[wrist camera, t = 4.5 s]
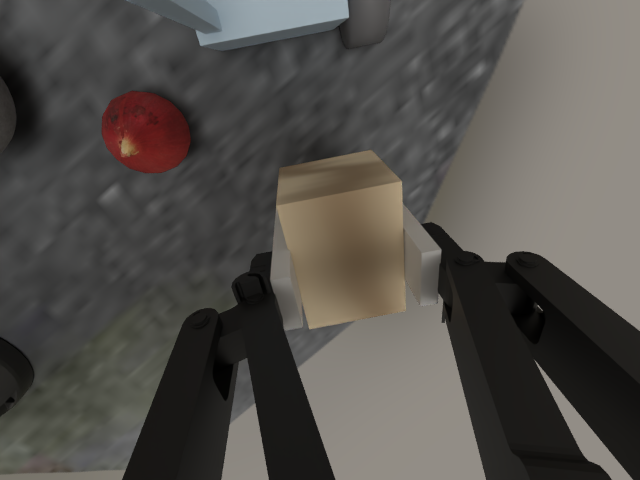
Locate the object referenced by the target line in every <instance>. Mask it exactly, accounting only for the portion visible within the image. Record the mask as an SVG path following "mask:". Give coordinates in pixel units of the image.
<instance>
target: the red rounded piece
mask: <svg viewBox="0 0 640 480" xmlns="http://www.w3.org/2000/svg"><path fill="white" fill-rule="evenodd" d="M102 136H103V139H104V141H105V144H106V147H107V148H108V150H109V151H110V152H111V153H112V154H113V156H114V157H115V158H116V159H117V160H118V161H120V162H121V163H123V164H124V165H125V166H127V167H128V168H130V169H133V170H136V171H140V172H143V173H162V172H165V171H167V170H169V169H172V168H174V167H176V166H178V165H179V164H180V163H181V161H182V160H183V159H184V158H185V157H186V156H187V152H188V149H189V146H190V142H191V138H190V131H189V126H188V124H187V122H186V120H185V118H184V116H183V114H182V113H181V112H180V111H179V110H178V109H177V108H176V107H175V106H174V105H173V104H172V103H171V102H170V101H168V100H166V99H164V98H162V97H160V96H158V95H157V94H154V93H148V92H138V91H130V92H128V93H126V94H123V95H121V96H119V97H117V98H115V99H113V100H111V102H110V103H109V105H108V107H107V109H106V110H105V112H104V114H103V116H102Z"/></svg>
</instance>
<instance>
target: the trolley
mask: <svg viewBox="0 0 640 480" xmlns="http://www.w3.org/2000/svg"><path fill="white" fill-rule="evenodd" d="M125 1H128V2H130V3H133V4H135V5H137V6H140V7H142V8H144V9H147V10H149V11H152V12H154V13H156V14H159V15H161V16H164V17H166V18H168V19H171V20H173V21H175V22H178V23H180V24H183V25H185V26H187V27H190V28H192V29H195V30H196V33H197V37H198V40H199V43H200V46H203V47H207V48H211V49H215V50H219V51H226V50H231V49H236V48H241V47H246V46H252V45H257V44H262V43H267V42H273V41H278V40H283V39H288V38H293V37H299V36H304V35H309V34H314V33H320V32H325V31H330V30H333V29H335V28H336V27H337V26H339V27H340V32H341V36H342V40H343V43H344V45H345V47H346V48H347V49H350V48H355V47H360V46H366V45H371V44H376V43H380V42H382V41H383V39H384V37H385V35H386V31H387V27H388V22H389V14H390V1H391V0H125Z"/></svg>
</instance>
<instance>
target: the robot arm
mask: <svg viewBox="0 0 640 480" xmlns="http://www.w3.org/2000/svg"><path fill="white" fill-rule="evenodd" d="M403 235H404V268H405V280H406V282H407V283H408V285H409V287H410V289H411V291H412V292H413V294H414V296H415V298H416V300H417V302H418V303H419V305H420V306H425V305H431V304H437V303H438V293H439V294H440V296H441V297H442V298H443V312H442V323H445V320H446V324H447V328H448V331H449V335H450V339H451V343H452V347H453V351H454V355H455V359H456V363H457V367H458V371H459V375H460V379H461V383H462V387H463V390H464V394H465V398H466V402H467V406H468V410H469V414H470V418H471V422H472V426H473V430H474V434H475V438H476V441H477V445H478V449H479V453H480V457H481V461H482V465H483V469H484V473H485V477H486V480H611V478H610V477H609V475H608V474H607V473H606V472H605V471H604V470H603V469H602V468H601V467H600V466H599V465H597V464H594V463H592V462H589V461H588V460H587V459H586V458H585V457H584V456H583V454H582V452H581V451H580V449H579V447H578V445H577V443H576V441H575V439H574V437H573V435H572V433H571V431H570V429H569V427H568V426H567V423H566V421H565V420H564V417H563V416H562V414H561V412H560V410H559V408H558V406H557V404H556V402H555V400H554V398H553V396H552V394H551V392H550V390H549V388H548V386H547V384H546V382H545V380H544V378H543V376H542V374H541V372H540V370H539V368H538V367H537V364H536V362H537V363H538V364H539V366H540V367H541V368H542V369H543V370H544V372H545V373H546V374H547V375H548V376H549V378H550V379H551V380H552V381H553V383H554V384H555V385H556V386H557V388H558V389H559V390H560V391H561V392H562V394H563V395H564V396H565V397H566V398H567V400H568V401H569V402H570V403H571V405H572V406H573V407H574V408H575V409H576V411H577V412H578V413H579V414H580V415H581V417H582V418H583V419H584V420H585V422H586V423H587V424H588V425H589V426H590V428H591V429H592V430H593V431H594V433H595V434H596V435H597V436H598V437H599V439H600V440H601V441H602V442H603V444H604V445H605V446H606V447H607V448H608V450H609V451H610V452H611V453H612V454H613V456H614V457H615V458H616V459H617V461H618V462H619V463H620V464H621V465H622V467H623V468H624V469H625V470H626V472H627V473H628V474H629V475H630V476H631V478H632V479H633V480H640V331H639V330H637V329H636V328H635V327H634V326H632V325H631V324H630V323H628V322H627V321H626V320H625V319H623V318H622V317H621V316H619V315H618V314H617V313H615V312H614V311H613V310H612V309H610V308H609V307H607V306H606V305H605V304H604V303H602V302H601V301H600V300H599V299H597V298H596V297H594V296H593V295H592V294H591V293H589V292H588V291H587V290H585V289H584V288H583V287H582V286H580V285H579V284H578V283H576V282H575V281H574V280H572V279H571V278H570V277H569V276H567V275H566V274H564V273H563V272H562V271H560V270H559V269H558V268H557V267H555V266H554V265H553V264H552V263H550V262H549V261H548V260H546V259H545V258H543V257H542V256H540V255H537V254H534V253H531V252H524V251H522V252H514V253H511V254H509V255H508V256H507V259H506V263H505V262H504V263H503V262H502V263H501V262H484V260H483V259H482V258H481V257H480V256H479V255H477V254H475V253H472V252H468V251H463V250H462V249H461V248H460V247H459V246H458V245H457V243H456V242H454V240H453V239H452V238H450V236H449V235H448V234H447V233H446V232H445V231H444V230H443V229H442V228H441V227H440V226H438V225H436V224H434V223H432V222H430V223H424V224H420V223H419V222H418V221H417V220H416V218H415V217H414V216H413V215H412V214H411V212H410V211H409V210H408V209H407V208H406V207H405V205H404V204H403ZM231 288H232V290H233V293H234V295H235V298H236V300H237V303H238V305H236V306H235V307H233V308H231V309H229V310H227V311H225V312H222V313H220V314H218V312H217V311H216V310H215V309H212V308H204V309H201V310H198V311H196V312H194V313H192V314H191V315H190V316H189V317H188V318H186V320H185V321H184V323H183V325H182V327H181V330H180V332H179V335H178V338H177V340H176V343H175V345H174V348H173V350H172V353H171V356H170V358H169V361H168V363H167V366H166V368H165V371H164V374H163V376H162V379H161V381H160V384H159V386H158V389H157V391H156V394H155V397H154V399H153V402H152V404H151V407H150V409H149V412H148V415H147V417H146V420H145V422H144V425H143V427H142V430H141V433H140V435H139V438H138V440H137V443H136V445H135V448H134V451H133V453H132V456H131V458H130V461H129V463H128V466H127V469H126V471H125V474H124V476H123V479H122V480H221V477H222V470H223V464H224V457H225V451H226V443H227V438H228V431H229V424H230V417H231V411H232V404H233V397H234V391H235V384H236V377H237V370H238V364H239V361H241V360H243V359H245V358H248V364H249V369H250V375H251V381H252V386H253V392H254V398H255V403H256V408H257V415H258V420H259V426H260V432H261V437H262V443H263V448H264V454H265V459H266V465H267V471H268V476H269V480H335V477H334V474H333V471H332V469H331V466H330V463H329V460H328V457H327V454H326V451H325V448H324V445H323V442H322V439H321V437H320V434H319V431H318V428H317V425H316V422H315V419H314V416H313V413H312V410H311V407H310V404H309V402H308V399H307V396H306V393H305V390H304V387H303V384H302V382H301V378H300V375H299V373H298V370H297V367H296V364H295V361H294V358H293V355H292V352H291V349H290V346H289V343H288V340H287V338H286V335H285V332H284V329H283V325H284V328H285V331H286V330H292V329H297V328H303V320H302V303H301V294H300V290H299V286H298V282H297V278H296V274H295V269H294V265H293V261H292V257H291V253H290V250H288V248H287V245H286V241H285V237H284V234H283V230H282V226H281V223H280V219H279V215H278V211H277V208H276V215H275V227H274V239H273V251H271V252H266V253H260V254H257V255H256V256H255V257H254V258H253V260H252V261H251V266H250V272H246V273H244V274H242V275H240V276H239V277H237V278H236V279H235V280H234V281H233V283H232V287H231ZM537 305H539V306H540V308H541V309H542V310H543V311H542V310H541V309H540V308H539V307H538V306H537ZM534 359H535V360H534ZM535 361H536V362H535ZM32 382H33V371H32V368H31V366H30V364H29V362H28V361H27V359H26V358H25V357H24V356H23V355H22V354H21V353H20V352H19V351H18V350H17V349H15V348H14V347H13V346H11V345H10V344H8V343H7V342H5V341H3V340H2V339H0V416H2V415H3V414H4V413H6V412H7V411H8V410H9V409H11V408H12V407H13V406H14V405H15V404H16V403H17V402H18V401H19V400H20V399H21V397H22V396H23V395H24V394H25V392H26V391H27V390H28V389H29V387H30V386H31V384H32Z"/></svg>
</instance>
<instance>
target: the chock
mask: <svg viewBox="0 0 640 480" xmlns="http://www.w3.org/2000/svg"><path fill="white" fill-rule="evenodd" d="M276 208H277V211H278V215H279V219H280V223H281V226H282V230H283V234H284V237H285V241H286V245H287V248H288V250H290V253H291V257H292V261H293V265H294V269H295V274H296V278H297V282H298V286H299V290H300V294H301V300H302V303H303V307H304V311H305V315H306V318H307V322H308V326H309V329H314V328H319V327H324V326H329V325H335V324H340V323H345V322H350V321H355V320H360V319H365V318H371V317H376V316H381V315H387V314H392V313H397V312H402V311H406V302H405V301H406V300H405V268H404V235H403V203H402V181H401V180H400V179H399V178H398V177H397V176H396V175H395V174H394V173H393V172H392V171H391V170H390V169H389V167H388V166H387V165H386V164H385V163H384V162H383V161H382V160H381V159H380V158H379V157H378V156H377V155H376V154H375V153H374V152H373V151H372V150H368V151H363V152H358V153H353V154H348V155H342V156H337V157H332V158H327V159H322V160H317V161H312V162H307V163H302V164H297V165H292V166H287V167H282V168H279V178H278V189H277V200H276Z"/></svg>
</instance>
